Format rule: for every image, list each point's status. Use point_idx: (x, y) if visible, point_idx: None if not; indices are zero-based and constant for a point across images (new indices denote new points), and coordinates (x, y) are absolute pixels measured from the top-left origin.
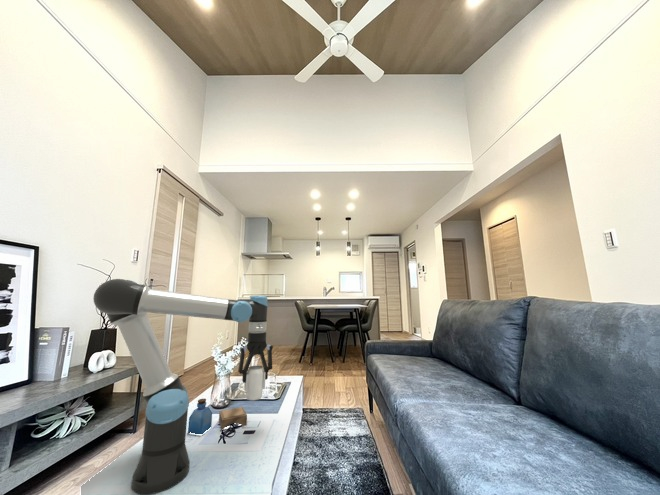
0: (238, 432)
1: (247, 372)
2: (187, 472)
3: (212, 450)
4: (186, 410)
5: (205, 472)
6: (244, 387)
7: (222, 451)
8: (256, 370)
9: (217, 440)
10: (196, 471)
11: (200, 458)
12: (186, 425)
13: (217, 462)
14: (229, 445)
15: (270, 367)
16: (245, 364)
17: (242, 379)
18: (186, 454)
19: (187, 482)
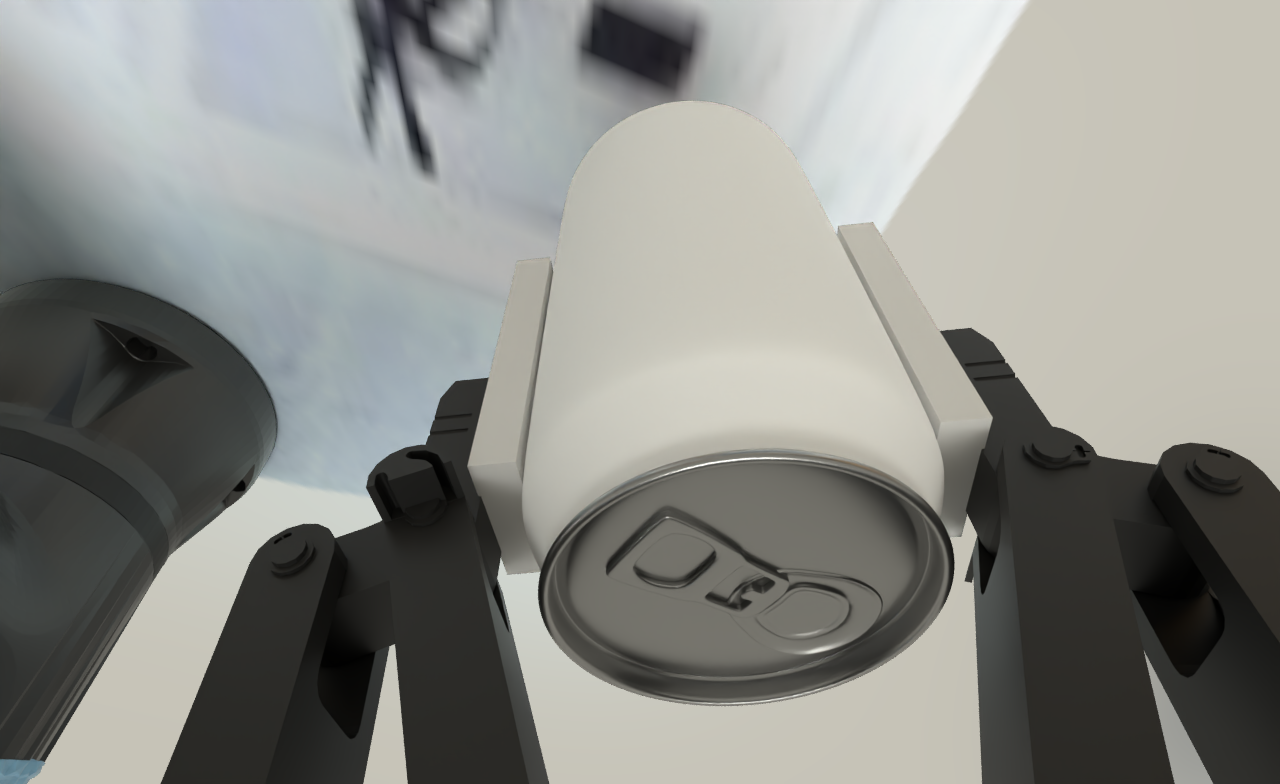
0: (532, 10)
1: (523, 511)
2: (273, 430)
3: (349, 241)
4: (35, 761)
5: (373, 434)
6: (513, 285)
7: (428, 279)
8: (727, 672)
9: (349, 97)
10: (319, 412)
11: (294, 306)
12: (94, 593)
13: (419, 378)
14: (469, 219)
15: (1144, 604)
16: (411, 711)
17: (438, 428)
18: (215, 474)
19: (305, 470)
